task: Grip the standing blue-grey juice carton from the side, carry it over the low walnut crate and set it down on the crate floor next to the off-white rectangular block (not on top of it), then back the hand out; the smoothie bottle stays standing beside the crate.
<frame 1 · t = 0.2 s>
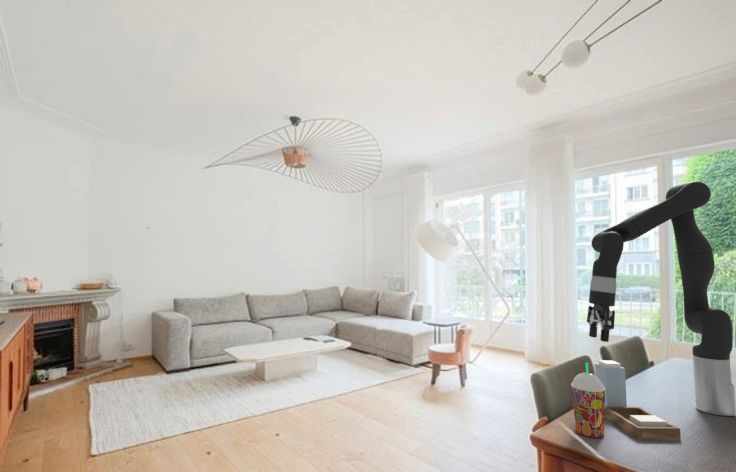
hand: (598, 339, 131), 23 cm above the table, tool pointing down, fingers open, 8 cm apart
carton: (611, 413, 125), on the table
crate: (639, 431, 112), on the table
off-white rectangular block: (648, 433, 108), point 1 cm above the table, touching crate
smoothie: (590, 437, 108), on the table
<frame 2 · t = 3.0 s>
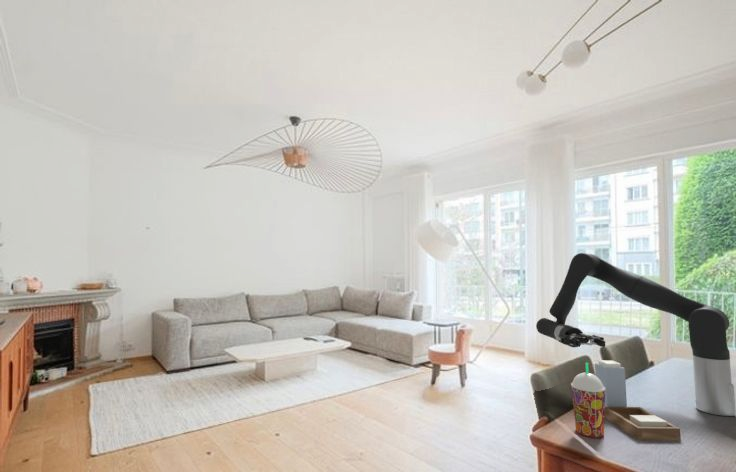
hand: (591, 343, 136), 20 cm above the table, tool horizontal, fingers open, 8 cm apart
nothing on the table moved.
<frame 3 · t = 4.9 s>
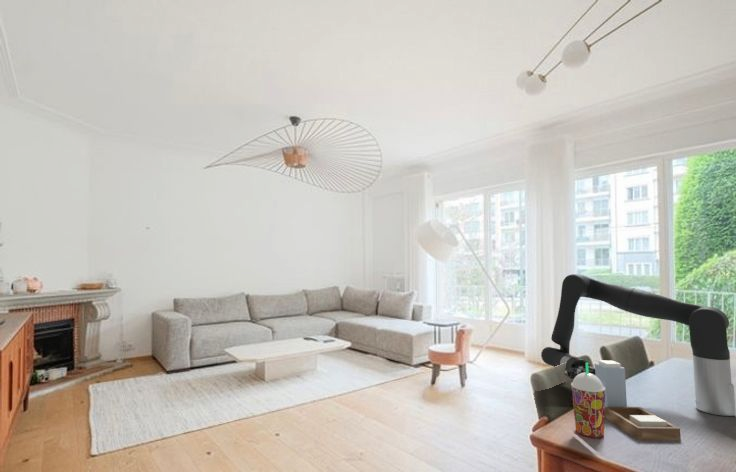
hand: (599, 379, 132), 9 cm above the table, tool horizontal, fingers open, 8 cm apart
nothing on the table moved.
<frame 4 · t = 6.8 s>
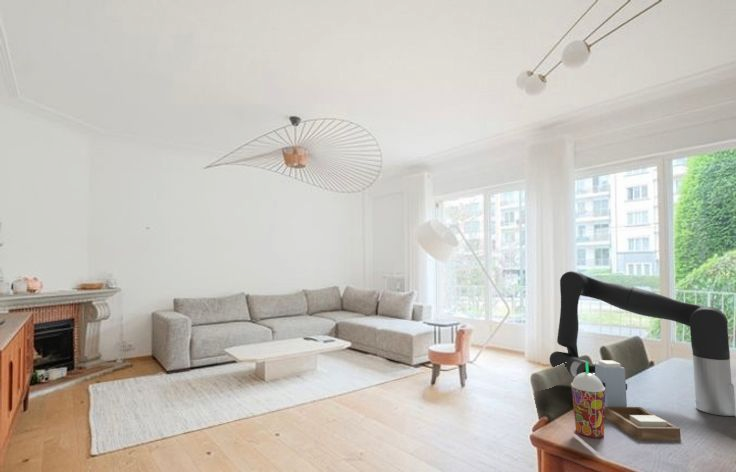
hand: (615, 387, 123), 9 cm above the table, tool horizontal, fingers closed on carton, 6 cm apart
carton: (611, 413, 125), on the table, touching gripper
everything else where it was.
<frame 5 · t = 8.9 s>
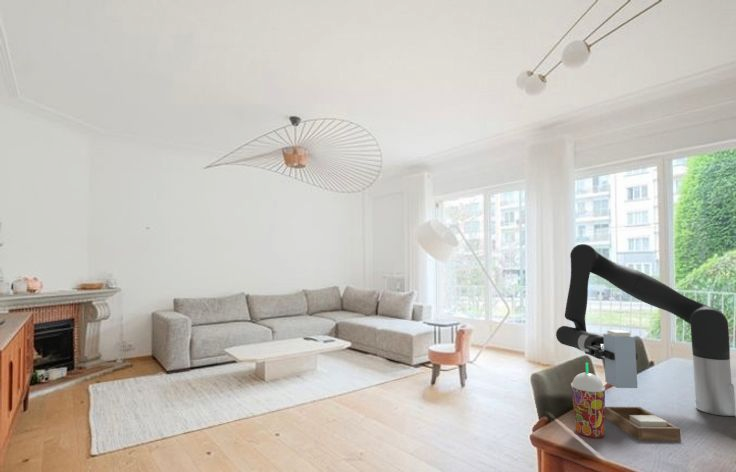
hand: (624, 356, 118), 20 cm above the table, tool horizontal, fingers closed on carton, 6 cm apart
carton: (621, 384, 120), point 11 cm above the table, touching gripper
everything else where it was.
when the fingers open (11 cm above the table, at t = 11.3 s): carton drops 1 cm, resting on crate.
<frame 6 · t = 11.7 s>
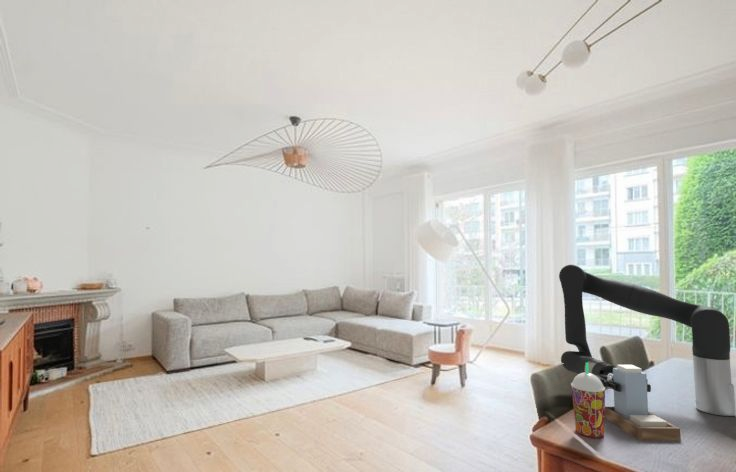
hand: (634, 388, 114), 12 cm above the table, tool horizontal, fingers open, 8 cm apart
carton: (631, 422, 115), point 1 cm above the table, touching crate
everything else where it was.
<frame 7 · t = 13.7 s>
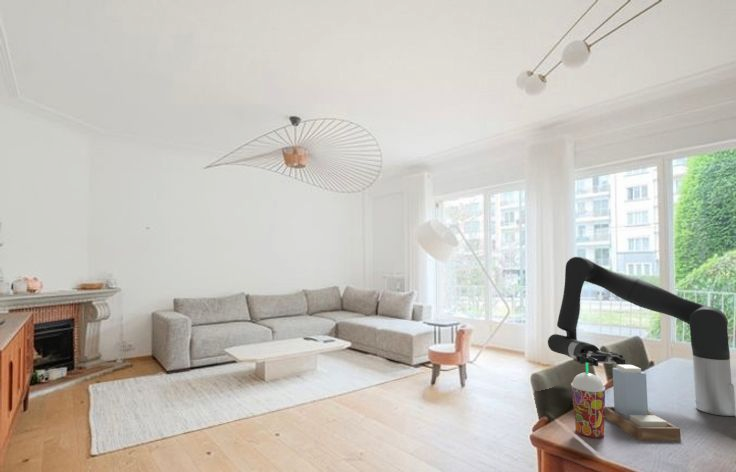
hand: (610, 362, 126), 16 cm above the table, tool horizontal, fingers open, 8 cm apart
nothing on the table moved.
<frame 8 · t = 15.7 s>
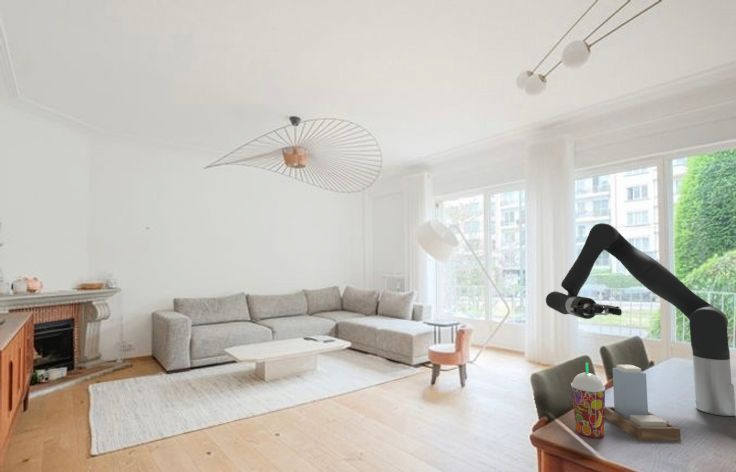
hand: (606, 312, 127), 32 cm above the table, tool horizontal, fingers open, 8 cm apart
nothing on the table moved.
at the end: carton inside the target area (0.2 cm from its centre), point 1.0 cm above the table; carton tilted 0°; off-white rectangular block moved 0.1 cm from its start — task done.
